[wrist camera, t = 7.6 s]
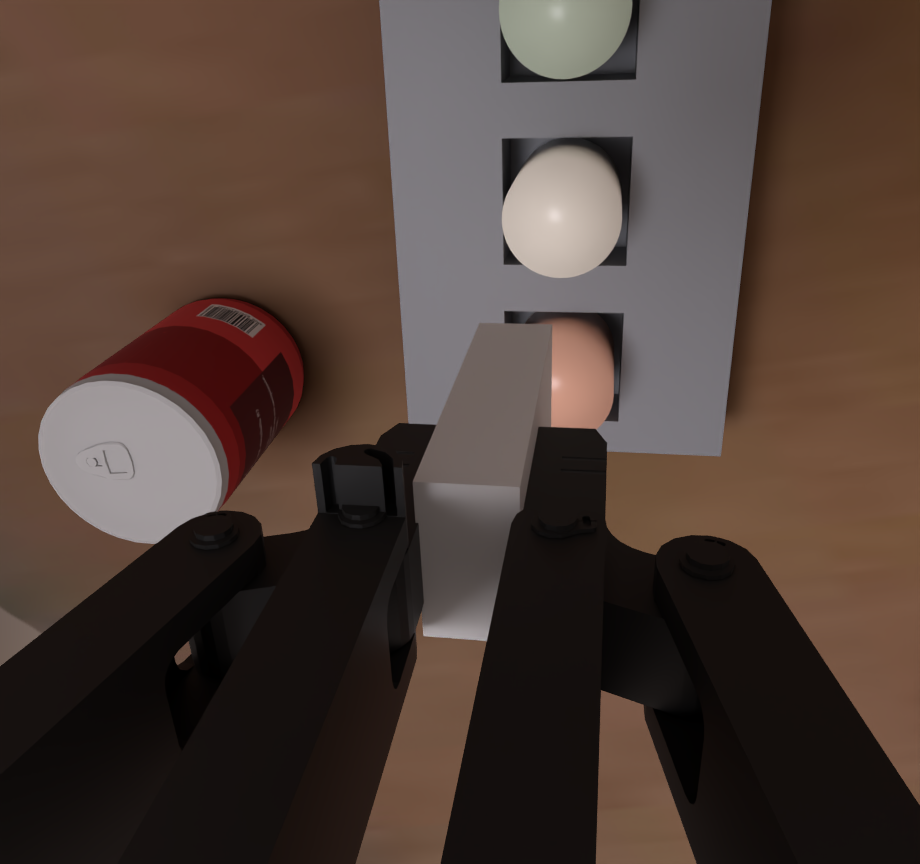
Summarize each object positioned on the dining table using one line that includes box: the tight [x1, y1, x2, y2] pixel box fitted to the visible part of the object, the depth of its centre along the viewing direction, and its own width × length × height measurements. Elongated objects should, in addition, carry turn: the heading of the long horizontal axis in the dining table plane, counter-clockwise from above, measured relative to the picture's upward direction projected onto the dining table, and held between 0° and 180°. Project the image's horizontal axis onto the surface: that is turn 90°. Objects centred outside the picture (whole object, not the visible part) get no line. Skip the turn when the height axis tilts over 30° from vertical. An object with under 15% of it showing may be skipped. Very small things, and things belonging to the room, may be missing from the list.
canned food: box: [38, 298, 304, 544], centre depth 40 cm, size 8×8×11 cm
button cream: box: [502, 137, 622, 278], centre depth 34 cm, size 4×4×5 cm
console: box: [379, 0, 772, 456], centre depth 36 cm, size 22×14×4 cm, turn 3°
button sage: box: [499, 0, 632, 79], centre depth 31 cm, size 4×4×5 cm
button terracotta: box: [525, 312, 614, 429], centre depth 37 cm, size 4×4×5 cm
